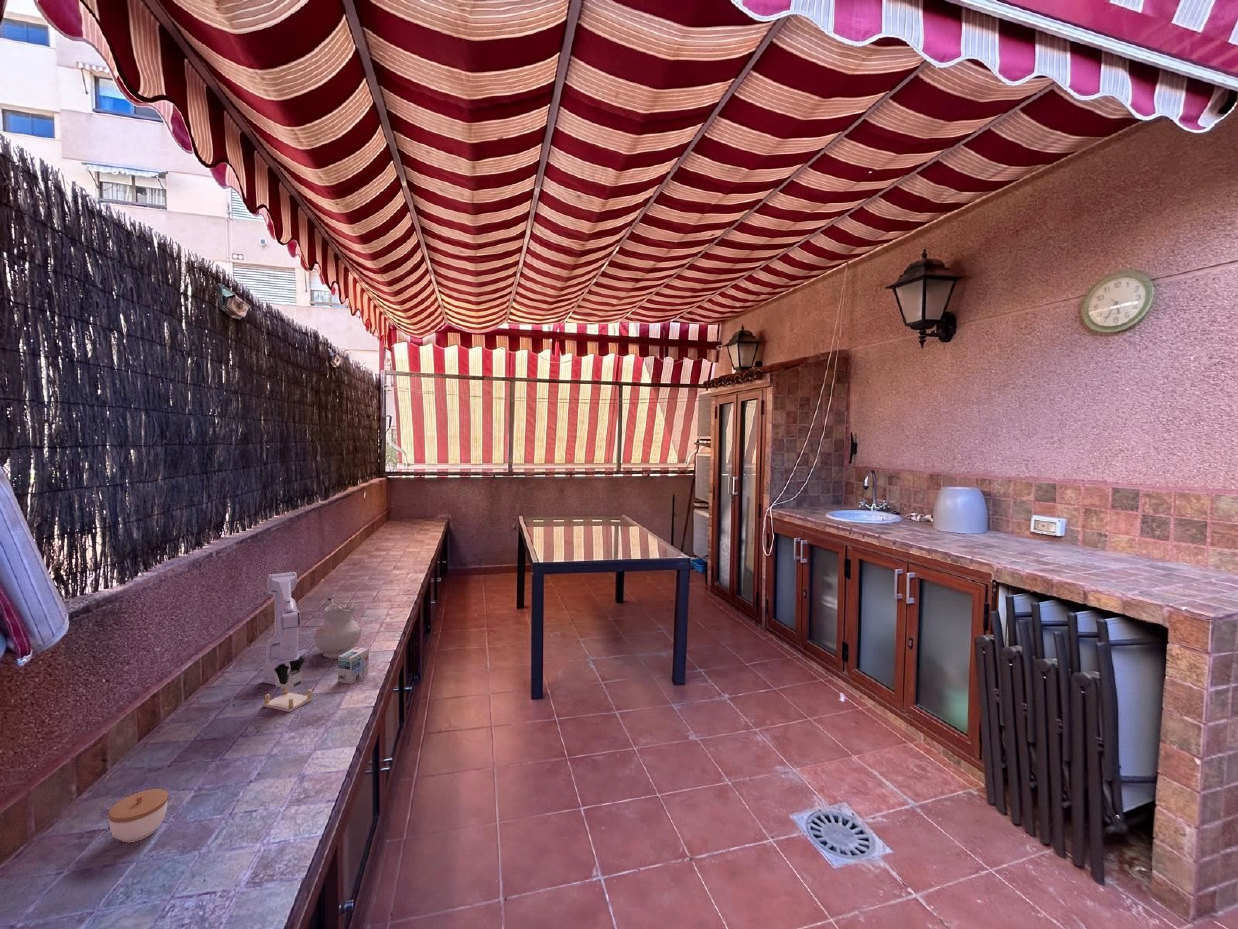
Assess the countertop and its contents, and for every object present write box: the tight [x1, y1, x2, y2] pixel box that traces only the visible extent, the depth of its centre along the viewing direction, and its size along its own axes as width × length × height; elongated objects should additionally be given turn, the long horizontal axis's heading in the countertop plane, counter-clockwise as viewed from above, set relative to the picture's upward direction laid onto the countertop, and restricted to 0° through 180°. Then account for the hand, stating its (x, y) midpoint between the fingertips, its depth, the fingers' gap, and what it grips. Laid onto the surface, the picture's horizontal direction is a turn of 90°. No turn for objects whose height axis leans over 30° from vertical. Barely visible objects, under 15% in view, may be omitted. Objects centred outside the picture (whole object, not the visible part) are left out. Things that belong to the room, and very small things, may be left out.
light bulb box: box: [337, 646, 370, 685], centre depth 214 cm, size 11×7×11 cm, turn 168°
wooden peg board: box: [263, 688, 313, 713], centre depth 191 cm, size 13×10×4 cm
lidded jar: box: [108, 788, 169, 844], centre depth 126 cm, size 11×11×9 cm
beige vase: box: [313, 596, 363, 660], centre depth 238 cm, size 22×20×25 cm
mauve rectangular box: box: [274, 669, 303, 690], centre depth 191 cm, size 8×4×5 cm, turn 74°
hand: (288, 681), depth 191 cm, fingers closed on mauve rectangular box, 4 cm apart
